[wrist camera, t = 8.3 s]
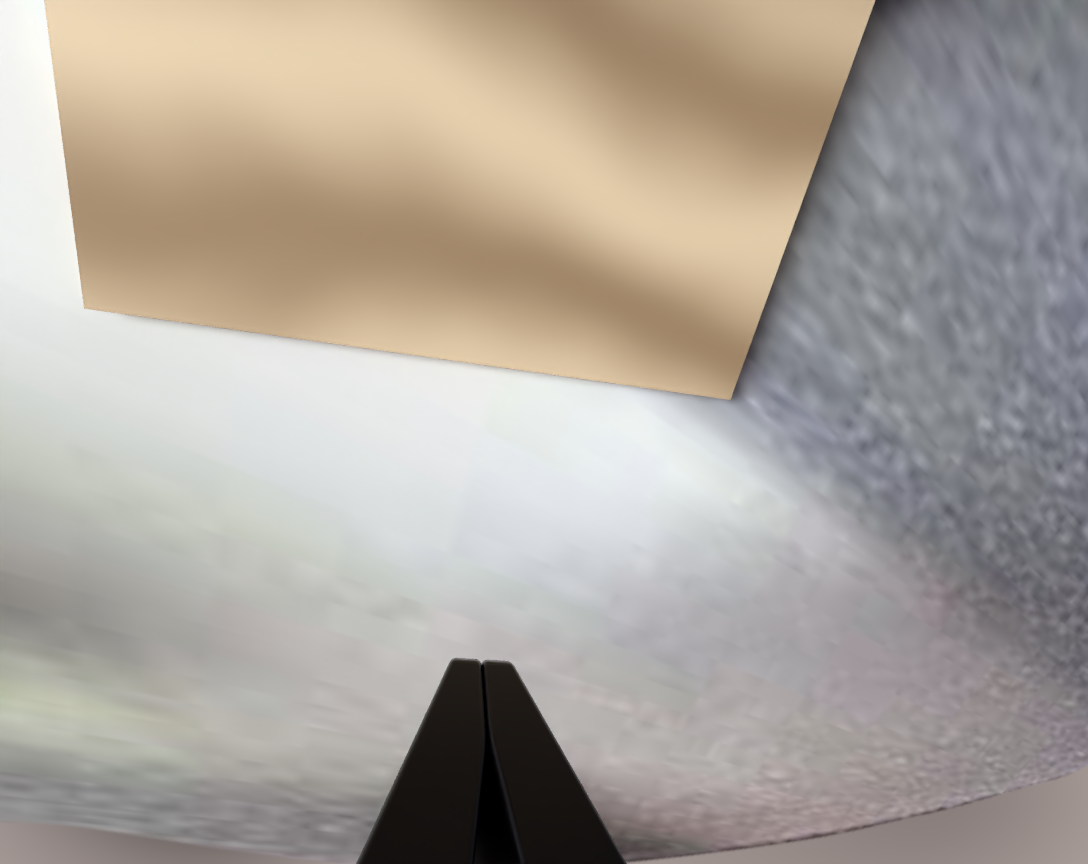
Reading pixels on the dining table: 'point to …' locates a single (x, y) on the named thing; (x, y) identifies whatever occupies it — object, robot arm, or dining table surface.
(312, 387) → the dining table surface
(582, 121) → the base
